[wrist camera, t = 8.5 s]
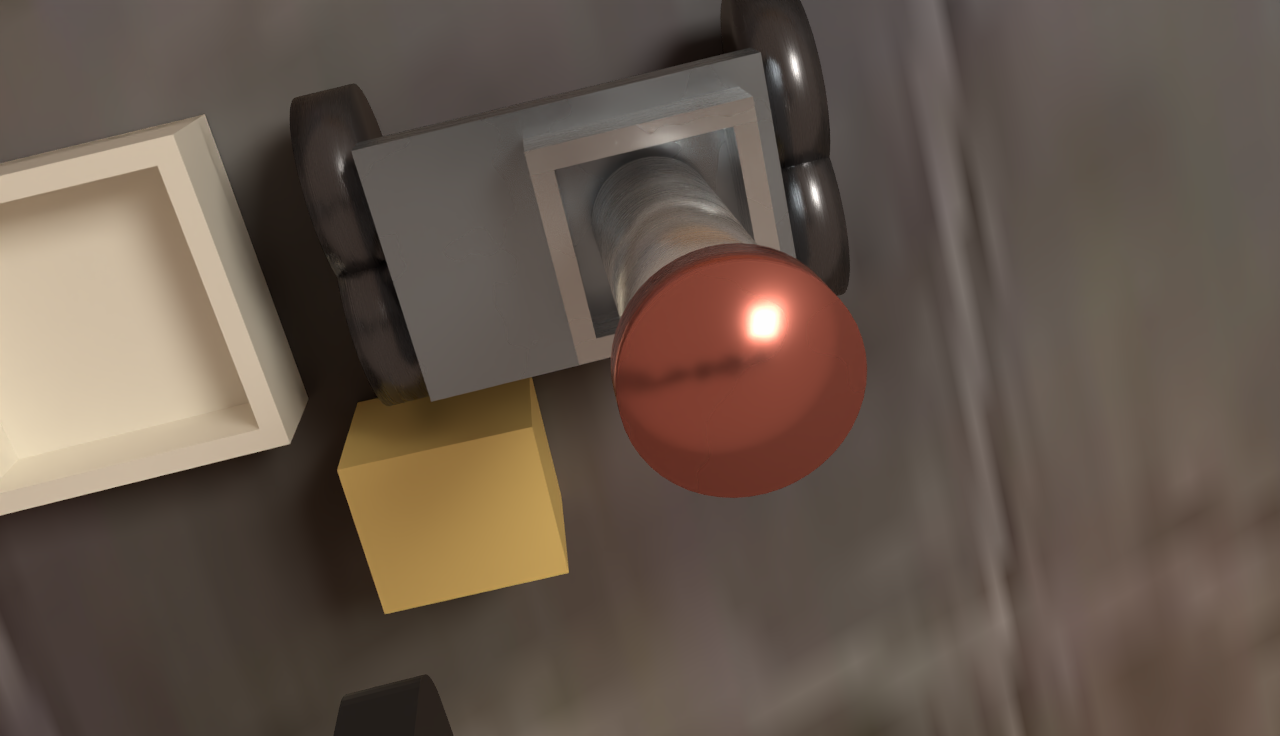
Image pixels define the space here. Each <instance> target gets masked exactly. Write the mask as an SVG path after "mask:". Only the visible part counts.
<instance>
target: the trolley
mask: <svg viewBox="0 0 1280 736" xmlns="http://www.w3.org/2000/svg"><path fill="white" fill-rule="evenodd" d="M721 37H722V47H723V54H722V55H718V56H714V57H710V58H706V59H702V60H697V61H693V62H689V63H685V64H681V65H677V66H673V67H668V68H664V69H660V70H656V71H652V72H648V73H644V74H639V75H635V76H631V77H627V78H623V79H619V80H615V81H610V82H606V83H602V84H598V85H594V86H590V87H586V88H581V89H577V90H573V91H569V92H565V93H561V94H557V95H552V96H548V97H544V98H540V99H536V100H532V101H528V102H523V103H519V104H515V105H511V106H507V107H503V108H498V109H494V110H490V111H486V112H482V113H478V114H474V115H469V116H465V117H461V118H457V119H453V120H449V121H445V122H440V123H436V124H432V125H428V126H424V127H420V128H416V129H411V130H407V131H403V132H399V133H395V134H391V135H387V136H382V134H381V131H380V128H379V126H378V123H377V121H376V118H375V116H374V113H373V111H372V109H371V107H370V105H369V103H368V101H367V99H366V97H365V95H364V94H363V92H362V90H361V89H360V88H359V87H358V86H357V85H356V84H349V85H345V86H341V87H337V88H333V89H329V90H324V91H320V92H316V93H312V94H308V95H304V96H299V97H296V98H294V99H293V100H292V103H291V107H290V131H291V140H292V146H293V152H294V157H295V163H296V167H297V172H298V176H299V180H300V184H301V188H302V191H303V195H304V198H305V202H306V205H307V208H308V211H309V214H310V217H311V220H312V223H313V226H314V229H315V231H316V234H317V237H318V239H319V242H320V244H321V246H322V249H323V251H324V253H325V256H326V258H327V260H328V262H329V264H330V266H331V268H332V269H333V271H334V273H335V275H336V276H337V279H338V285H339V290H340V295H341V300H342V304H343V308H344V312H345V316H346V320H347V324H348V327H349V330H350V334H351V337H352V340H353V343H354V346H355V349H356V352H357V355H358V358H359V360H360V363H361V365H362V368H363V370H364V373H365V375H366V377H367V379H368V381H369V383H370V385H371V387H372V389H373V391H374V392H375V394H376V396H377V397H378V398H379V400H380V401H381V402H382V403H383V404H384V405H386V406H392V405H396V404H400V403H404V402H408V401H412V400H416V399H420V398H424V397H428V396H430V399H431V402H432V401H436V400H440V399H444V398H449V397H453V396H457V395H461V394H465V393H469V392H473V391H477V390H481V389H485V388H489V387H493V386H497V385H501V384H505V383H509V382H513V381H517V380H521V379H525V378H530V377H534V376H538V375H542V374H546V373H550V372H554V371H558V370H562V369H566V368H570V367H574V366H578V365H582V364H586V363H590V362H594V361H598V360H602V359H607V358H611V352H612V344H613V340H614V336H615V331H616V329H617V326H618V323H619V321H620V317H619V314H618V311H617V307H616V304H615V301H614V298H613V294H612V291H611V288H610V285H609V282H608V278H607V275H606V272H605V269H604V265H603V262H602V259H601V256H600V252H599V249H598V246H597V243H596V239H595V236H594V232H593V227H592V212H593V206H594V202H595V199H596V196H597V194H598V192H599V190H600V188H601V186H602V185H603V183H604V182H605V181H606V179H607V178H608V177H609V176H610V175H611V174H612V173H613V172H614V171H615V170H617V169H618V168H619V167H621V166H623V165H624V164H626V163H628V162H630V161H632V160H635V159H638V158H642V157H647V156H665V157H670V158H674V159H677V160H679V161H682V162H684V163H685V164H687V165H689V166H690V167H692V168H693V169H695V170H696V171H697V172H698V173H699V174H700V175H701V176H702V178H703V179H704V180H705V181H706V182H707V184H708V185H709V186H710V187H711V189H712V190H713V191H714V192H715V193H716V195H717V196H718V197H719V198H720V200H721V201H722V202H723V203H724V204H725V206H726V207H727V208H728V209H729V210H730V212H731V213H732V214H733V215H734V217H735V218H736V219H737V220H738V221H739V223H740V224H741V225H742V226H743V228H744V229H745V230H746V231H747V232H748V234H749V235H750V236H751V237H752V239H753V240H754V241H755V242H756V243H757V245H760V246H765V247H770V248H773V249H776V250H778V251H781V252H784V253H786V254H788V255H790V256H792V257H794V258H796V259H798V260H799V261H800V262H802V263H803V264H805V265H806V266H807V267H809V268H810V269H811V270H812V271H813V272H814V273H815V274H816V275H817V276H819V277H820V278H821V279H822V281H823V282H824V283H825V284H826V285H827V286H828V287H829V288H830V289H831V290H832V291H833V292H834V294H835V295H836V296H838V295H842V294H844V293H845V291H846V290H847V287H848V282H849V272H850V260H849V246H848V237H847V229H846V223H845V217H844V212H843V207H842V202H841V197H840V193H839V189H838V185H837V181H836V177H835V174H834V170H833V167H832V164H831V161H830V158H829V155H830V126H829V114H828V105H827V98H826V91H825V85H824V80H823V75H822V69H821V65H820V60H819V56H818V52H817V48H816V44H815V41H814V37H813V34H812V31H811V27H810V24H809V21H808V19H807V16H806V13H805V11H804V8H803V6H802V4H801V1H800V0H722V3H721Z"/></svg>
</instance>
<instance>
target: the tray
mask: <svg viewBox="0 0 1280 736" xmlns="http://www.w3.org/2000/svg"><path fill="white" fill-rule="evenodd" d="M308 399H309V398H308V396H307V393H306V390H305V387H304V385H303V382H302V379H301V376H300V374H299V371H298V368H297V365H296V363H295V360H294V357H293V355H292V352H291V349H290V346H289V344H288V341H287V338H286V335H285V333H284V330H283V327H282V324H281V322H280V319H279V316H278V314H277V311H276V308H275V305H274V303H273V300H272V297H271V294H270V292H269V289H268V286H267V283H266V281H265V278H264V275H263V272H262V270H261V267H260V264H259V262H258V259H257V256H256V253H255V251H254V248H253V245H252V242H251V240H250V237H249V234H248V231H247V229H246V226H245V223H244V220H243V218H242V215H241V212H240V210H239V207H238V204H237V201H236V199H235V196H234V193H233V190H232V188H231V185H230V182H229V179H228V177H227V174H226V171H225V168H224V166H223V163H222V160H221V158H220V155H219V152H218V149H217V147H216V144H215V141H214V138H213V136H212V133H211V130H210V127H209V125H208V122H207V119H206V117H205V114H204V115H199V116H195V117H191V118H187V119H183V120H179V121H174V122H170V123H166V124H162V125H158V126H154V127H149V128H145V129H141V130H137V131H133V132H129V133H124V134H120V135H116V136H112V137H108V138H104V139H99V140H95V141H91V142H87V143H83V144H79V145H74V146H70V147H66V148H62V149H58V150H54V151H49V152H45V153H41V154H37V155H33V156H29V157H24V158H20V159H16V160H12V161H8V162H4V163H0V515H5V514H9V513H13V512H17V511H21V510H25V509H29V508H33V507H37V506H41V505H45V504H49V503H53V502H57V501H61V500H65V499H69V498H73V497H77V496H81V495H85V494H90V493H94V492H98V491H102V490H106V489H110V488H114V487H118V486H122V485H126V484H130V483H134V482H138V481H142V480H146V479H150V478H154V477H158V476H162V475H166V474H171V473H175V472H179V471H183V470H187V469H191V468H195V467H199V466H203V465H207V464H211V463H215V462H219V461H223V460H227V459H231V458H235V457H239V456H243V455H247V454H251V453H256V452H260V451H264V450H268V449H272V448H276V447H280V446H284V445H288V444H290V443H291V441H292V438H293V436H294V434H295V431H296V429H297V426H298V424H299V421H300V419H301V416H302V414H303V412H304V409H305V407H306V404H307V402H308Z"/></svg>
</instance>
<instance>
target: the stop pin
mask: <svg viewBox="0 0 1280 736" xmlns="http://www.w3.org/2000/svg"><path fill="white" fill-rule="evenodd" d="M592 227H593V232H594V236H595V239H596V243H597V246H598V249H599V252H600V256H601V259H602V262H603V265H604V269H605V272H606V275H607V278H608V282H609V285H610V288H611V291H612V294H613V298H614V301H615V304H616V307H617V311H618V314H619V317H620V321H619V323H618V326H617V329H616V331H615V336H614V340H613V344H612V352H611V377H612V382H613V388H614V392H615V396H616V400H617V404H618V408H619V412H620V416H621V419H622V422H623V425H624V428H625V431H626V433H627V435H628V437H629V439H630V441H631V443H632V444H633V446H634V447H635V449H636V450H637V452H638V453H639V455H640V456H641V457H642V458H643V459H644V460H645V461H646V462H647V463H648V465H649V466H650V467H652V468H653V469H654V470H655V471H656V472H658V473H659V474H660V475H661V476H663V477H664V478H666V479H668V480H669V481H671V482H673V483H674V484H676V485H678V486H681V487H683V488H685V489H687V490H690V491H693V492H697V493H700V494H704V495H710V496H716V497H730V498H737V497H750V496H755V495H760V494H765V493H769V492H772V491H775V490H778V489H781V488H783V487H786V486H788V485H790V484H792V483H794V482H796V481H798V480H800V479H801V478H803V477H805V476H806V475H808V474H810V473H811V472H812V471H814V470H815V469H816V468H818V467H819V466H820V465H821V464H823V463H824V462H825V461H826V460H827V459H828V458H829V457H830V456H831V455H832V454H833V453H834V452H835V451H836V449H837V448H838V447H839V446H840V444H841V443H842V442H843V441H844V439H845V438H846V436H847V434H848V433H849V431H850V430H851V428H852V426H853V424H854V422H855V420H856V418H857V416H858V414H859V410H860V407H861V404H862V401H863V398H864V392H865V387H866V377H867V364H866V353H865V349H864V344H863V340H862V337H861V334H860V332H859V329H858V327H857V324H856V322H855V321H854V319H853V317H852V315H851V314H850V312H849V310H848V309H847V308H846V307H845V305H844V304H843V303H842V302H841V300H840V299H839V298H838V297H837V296H836V295H835V294H834V292H833V291H832V290H831V289H830V288H829V287H828V286H827V285H826V284H825V283H824V282H823V281H822V279H821V278H820V277H819V276H817V275H816V274H815V273H814V272H813V271H812V270H811V269H810V268H809V267H807V266H806V265H805V264H803V263H802V262H800V261H799V260H798V259H796V258H794V257H792V256H790V255H788V254H786V253H784V252H781V251H778V250H776V249H773V248H770V247H765V246H760V245H757V243H756V242H755V241H754V240H753V239H752V237H751V236H750V235H749V234H748V232H747V231H746V230H745V229H744V228H743V226H742V225H741V224H740V223H739V221H738V220H737V219H736V218H735V217H734V215H733V214H732V213H731V212H730V210H729V209H728V208H727V207H726V206H725V204H724V203H723V202H722V201H721V200H720V198H719V197H718V196H717V195H716V193H715V192H714V191H713V190H712V189H711V187H710V186H709V185H708V184H707V182H706V181H705V180H704V179H703V178H702V176H701V175H700V174H699V173H698V172H697V171H696V170H695V169H693V168H692V167H690V166H689V165H687V164H685V163H684V162H682V161H679V160H677V159H674V158H670V157H665V156H647V157H642V158H638V159H635V160H632V161H630V162H628V163H626V164H624V165H623V166H621V167H619V168H618V169H617V170H615V171H614V172H613V173H612V174H611V175H610V176H609V177H608V178H607V179H606V181H605V182H604V183H603V185H602V186H601V188H600V190H599V192H598V194H597V196H596V199H595V202H594V206H593V212H592Z"/></svg>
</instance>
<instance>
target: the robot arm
mask: <svg viewBox="0 0 1280 736" xmlns="http://www.w3.org/2000/svg"><path fill="white" fill-rule="evenodd" d="M334 736H453V733H452V730H451V727H450V724H449V722H448V719H447V716H446V713H445V710H444V708H443V705H442V702H441V699H440V696H439V694H438V691H437V689H436V687H435V685H434V683H433V681H432V679H431V678H430V677H429V676H428V675H426V674H425V675H421V676H417V677H413V678H409V679H405V680H401V681H397V682H393V683H389V684H386V685H382V686H378V687H374V688H370V689H366V690H362V691H358V692H354V693H350V694H346V695H345V696H344V697H343V699H342V701H341V704H340V707H339V712H338V717H337V722H336V727H335V731H334Z"/></svg>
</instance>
